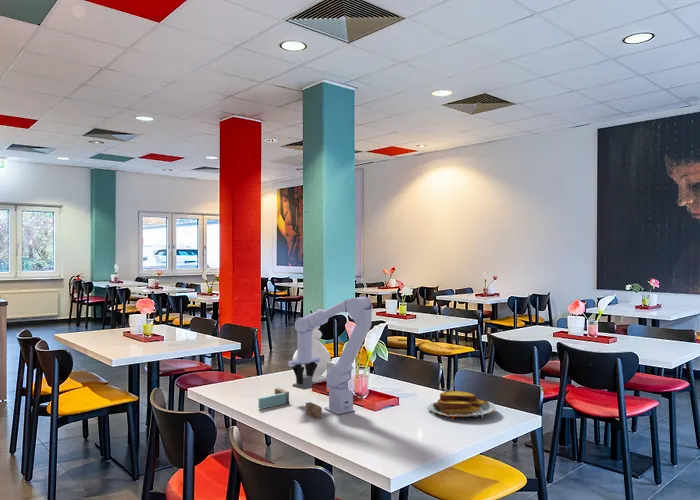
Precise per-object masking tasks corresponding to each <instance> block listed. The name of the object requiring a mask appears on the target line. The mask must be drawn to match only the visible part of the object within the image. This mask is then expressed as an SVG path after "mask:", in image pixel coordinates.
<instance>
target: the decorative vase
mask: <svg viewBox="0 0 700 500" xmlns="http://www.w3.org/2000/svg"><path fill="white" fill-rule="evenodd" d="M320 328H321V325H320V326H318V327H316V328H314V329H313V332H312V357H320V362H315V364H317V367H316V369H315V371H314V374H313V377H312V383H317V382H318V383H319V382H322V380H323V381H324V380H325V381H326V376H324V375H323V374H324V373H325V372H326V371H327V362H332V360H331V358H332V357H331V354H330V352H329V351H328V349H327V348H326V346H325V345H324V344H323V343H322V342H321V341H320V339H321V338H322V336H323V333H322V331H320ZM295 359H297V349H296V350H295V352H294V353H293V356H292V360H295ZM301 366H302V367H304V371H303V375H306V368H305V364H304V365H301Z"/></svg>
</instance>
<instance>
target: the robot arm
mask: <svg viewBox="0 0 700 500" xmlns="http://www.w3.org/2000/svg"><path fill="white" fill-rule="evenodd" d="M373 308H374V306H373V304H372V302H371V299H370V298H369V297H368V296H364V295H363V296H359V297H351V298H347V299H344V300H342V301H340V302H338V303H336V304H334V305H333V306H331V307H329V308H327V309H325V310H324V309H323V308H316V309H314V311H313V312H311V313H307V314H305V316H304V317H299V318H297V319H296V320H295V322H294V329H295V331H296V332H297V333H296V335H297V343H296V345H297V346H296V347H297V349H296V350H297V359H295V360H293V359H292V360H288V361H287V366H288V367H290V368H291V369H292V370H293V372H294V375H295V380H296V379H297V383H298V384H302V382H303V371H304V367H302V366H301V365H304V364H305V368H306V375H308V376H312V377H313V374H314V371H315V369H316V367H317V364H315V362H320V357H312V332H313V329H314V328H316V327H318V326H320V327H321V326H322V325H324V324H326V323H327V324H328V321H329V318H332V317H334V316H336V315H339V314H340V313H341V314H342V313H348V315H349V316H350V317H351V318H352V320H353V322H354V324H355V326H354V328H353V330H352V332H351V334H350V336H349V338H348V340H347V342H346V344H345V346H344V348H343V350H342V353H341V355H340V357H339V359H337V361H338V362H337V363H336V364H335V365H334V366H333V367H332V369H331V370H330V371H329V372H328V373H327V372H326V375H325V382H326V385H327V384H328V385H329V393H328V406H325V407H324V409H325V410H327V411H329V412H332V413H334V414H336V415H341V414H348V413H352V412H355V411H356V410H355V408H354V394H353V391H352V390H351V389H350V390H349V388H348V381H349V380H351V378H352V371H353V370H354V368H353V364H354V361H355V359H356V358H357V356H358V354H359V352H360V350H361V347H362V346H363V344H364V341H365V340H366V337H367V335H368V333H369V331H370V329H371V327H372V324H373V323H372V311H373Z"/></svg>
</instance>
